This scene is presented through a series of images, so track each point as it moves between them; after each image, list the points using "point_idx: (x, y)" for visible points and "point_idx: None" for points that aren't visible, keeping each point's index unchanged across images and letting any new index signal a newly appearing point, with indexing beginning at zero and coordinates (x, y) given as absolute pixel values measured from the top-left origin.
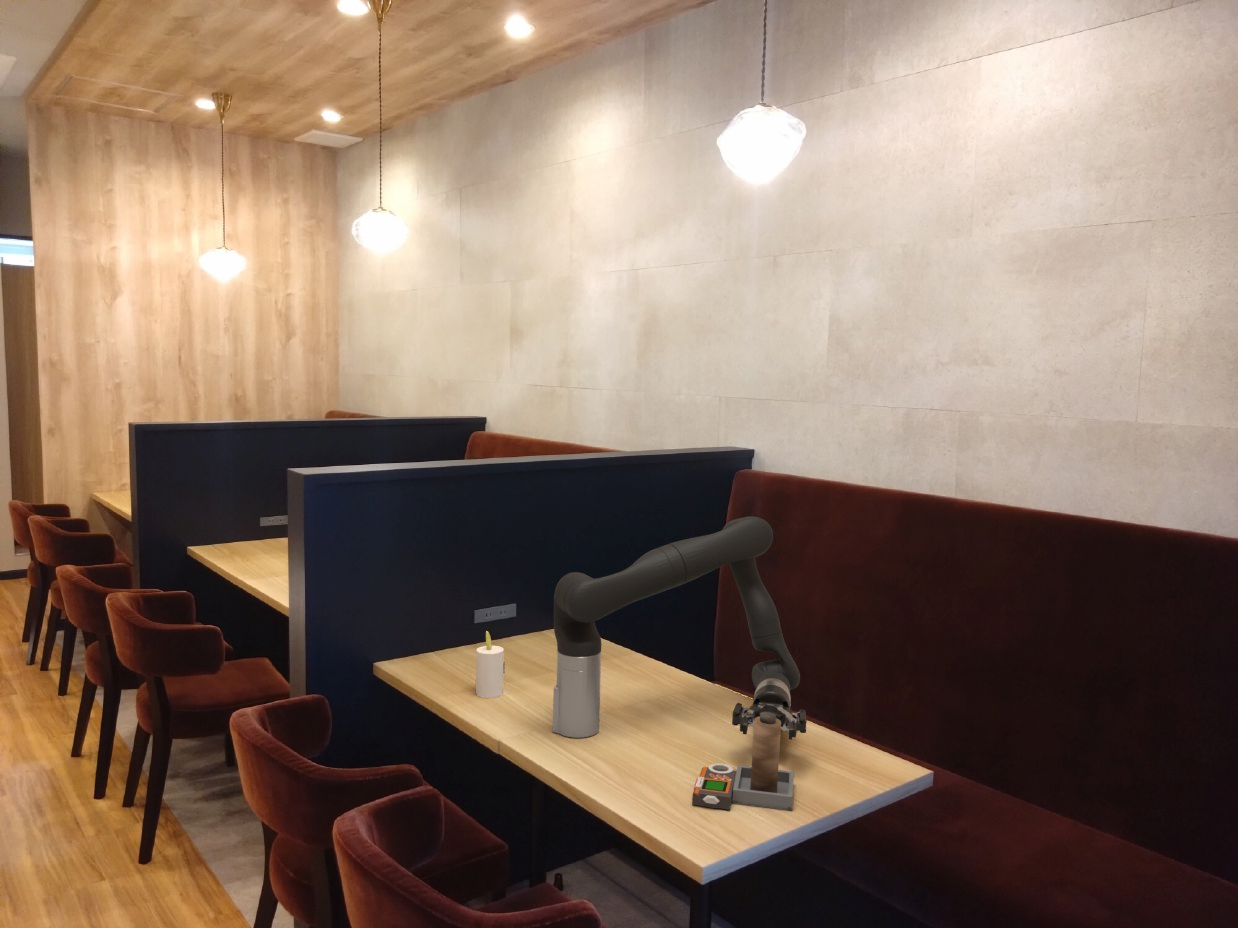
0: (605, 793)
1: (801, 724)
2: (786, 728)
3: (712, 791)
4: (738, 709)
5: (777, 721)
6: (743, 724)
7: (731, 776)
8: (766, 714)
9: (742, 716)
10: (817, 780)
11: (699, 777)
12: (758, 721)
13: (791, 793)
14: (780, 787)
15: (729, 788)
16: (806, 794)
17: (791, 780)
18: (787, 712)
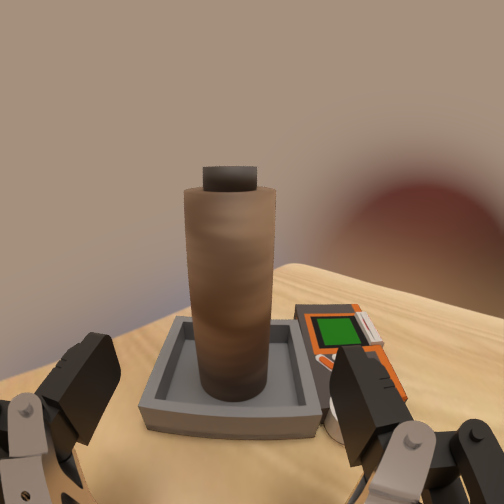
0: (462, 315)
1: (7, 404)
2: (85, 484)
3: (332, 313)
4: (491, 490)
5: (195, 191)
6: (357, 346)
7: (321, 375)
8: (235, 166)
9: (416, 427)
10: (75, 445)
11: (379, 338)
12: (260, 188)
13: (175, 324)
14: (188, 395)
15: (306, 328)
16: (129, 388)
17: (159, 365)
18: (11, 481)
